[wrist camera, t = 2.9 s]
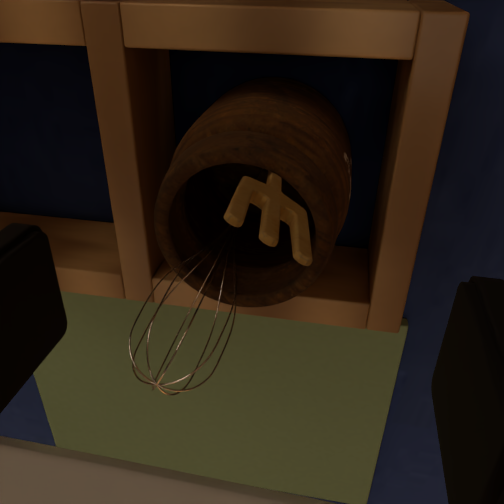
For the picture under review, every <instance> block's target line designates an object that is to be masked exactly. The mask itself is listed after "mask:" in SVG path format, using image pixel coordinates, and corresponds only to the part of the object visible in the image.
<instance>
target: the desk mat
mask: <svg viewBox="0 0 504 504" xmlns="http://www.w3.org/2000/svg"><path fill="white" fill-rule="evenodd" d="M61 296H62V300H63V304H64V309H65V313H66V317H67V330H66V333H65V335H64V336H63V338H62V339H61V340H60V341H59V342H58V344H57V345H56V346H55V347H54V348H53V350H52V351H51V352H50V353H49V355H48V356H47V357H46V358H45V359H44V361H43V362H42V363H41V364H40V366H39V367H38V368H37V369H36V370H35V372H34V376H35V380H36V383H37V386H38V389H39V392H40V396H41V399H42V402H43V405H44V408H45V412H46V415H47V418H48V421H49V424H50V428H51V431H52V434H53V437H54V440H55V444H56V447H59V448H65V449H70V450H75V451H80V452H85V453H90V454H95V455H100V456H105V457H110V458H115V459H120V460H125V461H130V462H135V463H140V464H145V465H150V466H155V467H160V468H165V469H170V470H175V471H180V472H185V473H190V474H195V475H200V476H205V477H210V478H215V479H220V480H224V481H229V482H234V483H239V484H244V485H249V486H254V487H259V488H265V489H271V490H276V491H282V492H287V493H293V494H298V495H304V496H310V497H315V498H321V499H326V500H332V501H337V502H343V503H349V504H367V500H368V496H369V492H370V488H371V483H372V479H373V475H374V471H375V466H376V462H377V458H378V454H379V449H380V445H381V441H382V437H383V432H384V428H385V424H386V420H387V415H388V411H389V407H390V403H391V398H392V394H393V390H394V386H395V381H396V377H397V373H398V369H399V364H400V360H401V356H402V352H403V347H404V343H405V339H406V335H407V330H408V321H407V319H404V318H402V321H401V326H400V330H399V332H398V333H390V332H382V331H374V330H368V329H366V328H365V329H358V328H350V327H342V326H334V325H326V324H318V323H310V322H302V321H294V320H286V319H278V318H270V317H262V316H254V315H246V314H238V313H236V314H235V321H234V325H233V329H232V332H231V335H230V338H229V341H228V343H227V345H226V348H225V350H224V352H223V355H222V357H221V359H220V361H219V364H218V366H217V368H216V369H215V371H214V373H213V374H212V376H211V377H210V378H209V379H208V380H207V381H206V382H205V383H204V384H202V385H201V386H199V387H197V388H195V389H192V390H189V391H183V392H180V393H179V394H176V395H166V394H164V393H163V392H161V391H160V390H159V389H158V387H157V386H156V388H155V389H154V390H153V391H152V390H151V388H152V385H148V384H145V383H143V382H141V381H139V380H138V379H137V378H136V377H135V375H134V372H133V368H132V360H131V357H130V353H129V336H130V332H131V329H132V326H133V324H134V322H135V320H136V318H137V316H138V314H139V312H140V311H141V309H142V307H143V305H144V303H145V302H143V301H135V300H127V299H126V298H125V299H119V298H111V297H104V296H96V295H88V294H80V293H72V292H64V291H61ZM158 306H159V303H155V301H154V302H153V303H151V302H147V303H146V305H145V307H144V309H143V311H142V313H141V314H140V316H139V318H138V320H137V322H136V324H135V327H134V329H133V331H132V335H131V352H132V356H133V355H134V352H135V350H136V347H137V345H138V343H139V341H140V339H141V337H142V335H143V333H144V332H145V330H146V328H147V326H148V324H149V322H150V320H151V319H152V317H153V315H154V314H155V312H156V310H157V308H158ZM190 308H191V307H183V306H175V305H167V304H162V306H161V307H160V309H159V311H158V313H157V315H156V317H155V319H154V322H153V324H152V328H151V332H150V337H149V346H148V358H149V365H150V369H151V372H152V375H153V377H154V379H155V378H156V376H157V374H158V372H159V369H160V367H161V365H162V363H163V361H164V359H165V357H166V355H167V353H168V351H169V349H170V347H171V345H172V343H173V341H174V339H175V337H176V335H177V333H178V331H179V329H180V327H181V325H182V323H183V321H184V319H185V317H186V315H187V313H188V311H189V310H190ZM196 309H197V308H192V309H191V311H190V313H189V315H188V317H187V319H186V321H185V323H184V325H183V327H182V329H181V331H180V333H179V335H178V337H177V339H176V341H175V343H174V345H173V347H172V349H171V351H170V353H169V355H168V357H167V359H166V361H165V363H164V365H163V367H162V369H161V371H160V373H159V376H158V378H157V380H156V383H157V381H158V380H159V378H160V377H161V375H162V373H163V372H164V370H165V368H166V367H167V365H168V363H169V361H170V360H171V358H172V356H173V354H174V352H175V350H176V349H177V347H178V345H179V343H180V341H181V339H182V337H183V335H184V333H185V331H186V329H187V327H188V325H189V323H190V321H191V319H192V317H193V315H194V313H195V311H196ZM229 313H230V312H223V311H218V314H217V318H216V322H215V326H214V329H213V332H212V335H211V338H210V340H209V343H208V345H207V348H206V350H205V352H204V355H203V357H202V359H201V361H200V363H199V366H200V365H201V364H202V363H203V362H204V361H205V360H206V359H207V357H208V356H209V355H210V353H211V352H212V350H213V348H214V346H215V345H216V343H217V340H218V338H219V336H220V334H221V332H222V330H223V327H224V325H225V323H226V321H227V318H228V316H229ZM215 315H216V311H215V310H207V309H198V311H197V313H196V315H195V317H194V320H193V322H192V324H191V326H190V328H189V330H188V332H187V334H186V336H185V338H184V340H183V341H182V343H181V345H180V347H179V349H178V351H177V353H176V355H175V356H174V358H173V360H172V362H171V364H170V365H169V367H168V369H167V371H166V372H165V374H164V376H163V377H162V379H161V380H160V382H159V383H158V384H160V383H169V382H173V381H176V380H179V379H181V378H183V377H185V376H187V375H189V374H190V373H192V372H193V371H194V370H195V368H196V366H197V364H198V362H199V359H200V357H201V355H202V353H203V351H204V348H205V346H206V343H207V341H208V338H209V336H210V333H211V330H212V327H213V323H214V319H215ZM233 317H234V313H231V315H230V318H229V320H228V323H227V325H226V327H225V330H224V332H223V334H222V336H221V338H220V341H219V343H218V345H217V347H216V349H215V350H214V352H213V354H212V355H211V357H210V358H209V359H208V361H207V362H206V363H205V364H204V365H203V366H202V367H201V368H200V369H199V370H197V371H196V372H195V374H194V376H193V378H192V380H191V381H190V383H189V384H188V386H187V387H186V388H185V389H189V388H192V387H195V386H197V385H199V384H200V383H202V382H203V381H204V380H205V379H207V378H208V376H209V375H210V374H211V373H212V371H213V369H214V367H215V366H216V364H217V361H218V359H219V357H220V355H221V353H222V350H223V348H224V346H225V343H226V341H227V338H228V336H229V333H230V330H231V326H232V322H233ZM149 328H150V326H149ZM149 328H148V329H147V331H146V333H145V335H144V337H143V339H142V341H141V343H140V345H139V347H138V350H137V352H136V355H135V359H134V362H135V364H136V365H137V367H138V368H139V370H140V371H141V372H142V373H143V374H144V375H145V376H146V377H147V378H149V379H150V380H152V378H151V375H150V373H149V370H148V365H147V358H146V345H147V337H148V332H149ZM199 366H198V367H199ZM134 368H135V366H134ZM135 372H136V374H137V376H138V377H139V378H140V379H141V380H143V381H145V382H149V381H148V380H147V379H145V378H144V377H143V376H142V375H141V374H140V373H139V372H138V371H137V369H136V368H135ZM191 376H192V375H191ZM191 376H189V377H187V378H186V379H184V380H182V381H179V382H177V383H174V384H170V385H161V386H163V387H166V388H170V389H175V390H181V389H182V388H183V387H184V386H185V385H186V384H187V383H188V381H189V380H190V378H191ZM152 381H153V380H152ZM149 383H151V382H149ZM154 386H155V385H154ZM160 388H161V387H160ZM161 389H162V390H163V391H165V392H167V393H170V394H173V393H176V392H175V391H169V390H166V389H163V388H161Z"/></svg>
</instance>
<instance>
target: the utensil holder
mask: <svg viewBox="0 0 504 504" xmlns="http://www.w3.org/2000/svg"><path fill="white" fill-rule="evenodd" d="M351 175H352V157H351V146H350V140H349V136H348V133H347V130H346V127H345V125H344V122H343V120H342V118H341V117H340V115H339V113H338V112H337V110H336V109H335V107H334V106H333V105H332V104H331V103H330V102H329V100H327V99H326V98H325V97H324V96H323V95H322V94H321V93H319V92H318V91H316V90H315V89H313V88H312V87H310V86H308V85H306V84H304V83H301V82H299V81H296V80H292V79H288V78H281V77H265V78H258V79H254V80H250V81H247V82H245V83H242V84H240V85H238V86H236V87H234V88H232V89H231V90H229V91H228V92H226V93H225V94H224V95H222V96H221V97H220V98H219V99H218V100H216V101H215V102H214V103H213V104H212V105H211V106H210V107H209V108H208V109H207V110H206V111H205V112H204V113H203V114H202V115H201V116H200V117H199V118H198V119H197V120H196V122H195V123H194V124H193V125H192V126H191V127H190V129H189V130H188V131H187V132H186V134H185V135H184V137H183V138H182V140H181V141H180V143H179V145H178V147H177V148H176V151H175V153H174V155H173V158H172V161H171V164H170V168H169V170H168V171H167V173H166V175H165V177H164V179H163V181H162V184H161V186H160V189H159V192H158V195H157V198H156V202H155V208H154V228H155V234H156V238H157V242H158V244H159V247H160V249H161V252H162V254H163V256H164V257H165V259H166V261H167V262H168V264H169V265H170V267H171V268H172V270H171V271H169V272H168V273H167V274H166V275H165V276H164V277H163V278H162V279H161V280H160V281H159V282H158V283H157V285H156V286H155V287H154V289H153V290H152V292H151V293H150V295H149V296H148V298H147V300H146V301H145V303H144V305H143V307H142V309H141V311H140V312H139V314H138V316H137V318H136V320H135V322H134V324H133V326H132V329H131V332H130V336H129V353H130V357H131V360H132V368H133V372H134V375H135V377H136V378H137V379H138V380H139V381H141V382H143V383H145V384H148V385H152V388H151V390H152V391H153V390H154V389H155V388H156V386H157V387H158V389H159V390H160V391H161V392H163V393H164V394H166V395H176V394H179V393H180V392H183V391H189V390H192V389H195V388H197V387H199V386H201V385H202V384H204V383H205V382H206V381H207V380H208V379H209V378H210V377H211V376H212V374H213V373H214V371H215V369H216V368H217V366H218V364H219V361H220V359H221V357H222V355H223V352H224V350H225V348H226V345H227V343H228V341H229V338H230V335H231V332H232V329H233V325H234V321H235V314H236V306H239V307H266V306H271V305H276V304H279V303H282V302H285V301H288V300H290V299H292V298H294V297H296V296H298V295H299V294H301V293H302V292H304V291H305V290H306V289H307V288H309V287H310V286H311V285H312V284H313V283H314V282H315V281H316V279H317V278H318V277H319V276H320V274H321V273H322V271H323V270H324V268H325V266H326V264H327V262H328V260H329V258H330V255H331V253H332V251H333V248H334V245H335V242H336V238H337V237H338V235H339V233H340V231H341V229H342V227H343V224H344V222H345V219H346V216H347V212H348V207H349V202H350V194H351ZM173 270H174V272H175V273H176V276H175V277H174V279H173V281H172V282H171V284H170V286H169V287H168V289H167V291H166V293H165V295H164V297H163V299H162V301H161V302H160V304H159V306H158V308H157V310H156V312H155V314H154V315H153V317H152V319H151V320H150V322H149V324H148V326H147V328H146V330H145V332H144V333H143V335H142V337H141V339H140V341H139V343H138V345H137V347H136V350H135V352H134V355H133V356H132V352H131V335H132V331H133V329H134V327H135V324H136V322H137V320H138V318H139V316H140V314H141V313H142V311H143V309H144V307H145V305H146V303H147V301H148V300H149V298H150V296H151V295H152V293H153V292H154V290H155V289H156V288H157V286H158V285H159V284H160V283H161V281H162V280H163V279H164V278H165V277H166V276H167V275H168V274H170V273H171V272H172V271H173ZM177 276H179V277H180V278H181V279H182V280H181V281H180V282H179V283H178V284H177V285H176V286H175V287H174V288H173V290H172V291H171V292H170V293H169V294H168V295H167V293H168V291H169V289H170V288H171V286H172V284H173V282H174V281H175V279H176V278H177ZM182 281H184V282H185V283H187V284H188V285H189V286H190V287H192V288H193V289H195V290H196V291H198V294H197V296H196V298H195V300H194V302H193V304H192V306H191V308H190V310H189V311H188V313H187V315H186V317H185V319H184V321H183V323H182V325H181V327H180V329H179V331H178V333H177V335H176V337H175V339H174V341H173V343H172V345H171V347H170V349H169V351H168V353H167V355H166V357H165V359H164V361H163V363H162V365H161V367H160V369H159V372H158V374H157V376H156V378H155V379H154V377H153V375H152V372H151V369H150V365H149V358H148V346H149V337H150V332H151V328H152V324H153V322H154V319H155V317H156V315H157V313H158V311H159V309H160V307H161V306H162V304H163V303H164V302H165V300H166V299H167V298H168V297H169V295H170V294H171V293H172V292H173V291H174V290H175V289H176V287H177V286H178V285H179V284H180V283H181V282H182ZM200 293H201V294H203V297H202V299H201V301H200V303H199V305H198V307H197V309H196V311H195V313H194V315H193V317H192V319H191V321H190V323H189V325H188V327H187V329H186V331H185V333H184V335H183V337H182V339H181V341H180V343H179V345H178V347H177V349H176V350H175V352H174V354H173V356H172V358H171V360H170V361H169V363H168V365H167V367H166V368H165V370H164V372H163V373H162V375H161V377H160V378H159V380H158V381H157V383H156V380H157V378H158V376H159V373H160V371H161V369H162V367H163V365H164V363H165V361H166V359H167V357H168V355H169V353H170V351H171V349H172V347H173V345H174V343H175V341H176V339H177V337H178V335H179V333H180V331H181V329H182V327H183V325H184V323H185V321H186V319H187V317H188V315H189V313H190V311H191V309H192V307H193V305H194V303H195V301H196V299H197V298H198V296H199V294H200ZM166 295H167V297H166ZM205 296H207V297H209V298H211V299H213V300H216V301H218V306H217V311H216V315H215V319H214V323H213V327H212V330H211V333H210V336H209V338H208V341H207V343H206V346H205V348H204V351H203V353H202V355H201V357H200V359H199V362H198V364H197V366H196V368H195V370H194V371H193V372H192V373H190V374H189V375H187V376H185V377H183V378H181V379H179V380H176V381H173V382H169V383H160V384H158V383H159V382H160V380H161V379H162V377H163V376H164V374H165V372H166V371H167V369H168V367H169V365H170V364H171V362H172V360H173V358H174V356H175V355H176V353H177V351H178V349H179V347H180V345H181V343H182V341H183V340H184V338H185V336H186V334H187V332H188V330H189V328H190V326H191V324H192V322H193V320H194V317H195V315H196V313H197V311H198V309H199V307H200V305H201V303H202V301H203V299H204V297H205ZM165 297H166V298H165ZM220 302H221V303H225V304H228V305H232V307H231V311H230V313H229V316H228V318H227V321H226V323H225V325H224V327H223V330H222V332H221V334H220V336H219V338H218V340H217V343H216V345H215V346H214V348H213V350H212V352H211V353H210V355H209V356H208V357H207V359H206V360H205V361H204V362H203V363H202V364H201V365H200V366H199V363H200V361H201V359H202V357H203V355H204V352H205V350H206V348H207V345H208V343H209V340H210V338H211V335H212V332H213V329H214V326H215V322H216V318H217V314H218V309H219V304H220ZM234 306H235V307H234ZM233 307H234V317H233V322H232V326H231V330H230V333H229V336H228V338H227V341H226V343H225V346H224V348H223V350H222V353H221V355H220V357H219V359H218V361H217V364H216V366H215V367H214V369H213V371H212V373H211V374H210V375H209V376H208V378H207V379H205V380H204V381H203V382H202V383H200V384H199V385H197V386H195V387H192V388H189V389H185V388H186V387H187V386H188V384H189V383H190V381H191V380H192V378H193V376H194V374H195V372H196V371H197V370H199V369H200V368H201V367H202V366H203V365H204V364H205V363H206V362H207V361H208V359H209V358H210V357H211V355H212V354H213V352H214V350H215V349H216V347H217V345H218V343H219V341H220V338H221V336H222V334H223V332H224V330H225V327H226V325H227V323H228V320H229V318H230V315H231V313H232V310H233ZM149 326H150V328H149ZM148 328H149V332H148V337H147V345H146V358H147V365H148V370H149V373H150V375H151V378H152V380H153V381H152V380H150V379H149V378H147V377H146V376H145V375H144V374H143V373H142V372H141V371H140V370H139V368H138V367H137V365H136V364H135V362H134V359H135V355H136V352H137V350H138V347H139V345H140V343H141V341H142V339H143V337H144V335H145V333H146V331H147V329H148ZM134 366H135V368H136V369H137V371H138V372H139V373H140V374H141V375H142V376H143V377H144V378H145V379H147V380H148V381H149V382H151V383H149V382H145V381H143V380H141V379H140V378H139V377H138V376H137V374H136V372H135V368H134ZM198 366H199V367H198ZM191 375H192V376H191ZM189 376H191V378H190V380H189V381H188V383H187V384H186V385H185V386H184V387H183V388H182V389H181V390H175V389H170V388H166V387H163V386H161V385H170V384H174V383H177V382H179V381H182V380H184V379H186V378H187V377H189ZM154 385H155V386H154ZM160 387H161V388H163V389H166V390H169V391H175V392H176V393H173V394H170V393H167V392H165V391H163V390H162V389H161V388H160Z"/></svg>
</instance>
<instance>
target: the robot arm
mask: <svg viewBox="0 0 504 504" xmlns="http://www.w3.org/2000/svg"><path fill="white" fill-rule="evenodd" d="M66 330H67V317H66V313H65V309H64V304H63V300H62V296H61V291H60V287H59V283H58V278H57V274H56V270H55V265H54V261H53V257H52V252H51V248H50V244H49V239H48V236H47V235H46V233H44V232H42V230H41V229H40V227H38V226H37V225H29V224H21V223H11V224H9V225H8V226H6V227H5V228H3V229H2V230H1V231H0V413H1V412H2V411H3V409H4V408H5V407H6V406H7V404H8V403H9V402H10V401H11V400H12V398H13V397H14V396H15V395H16V394H17V392H18V391H19V390H20V389H21V387H22V386H23V385H24V384H25V383H26V381H27V380H28V379H29V378H30V376H31V375H32V374H33V373H34V372H35V370H36V369H37V368H38V367H39V366H40V364H41V363H42V362H43V361H44V359H45V358H46V357H47V356H48V355H49V353H50V352H51V351H52V350H53V348H54V347H55V346H56V345H57V344H58V342H59V341H60V340H61V339H62V338H63V336H64V335H65V333H66ZM432 399H433V405H434V412H435V418H436V425H437V431H438V438H439V444H440V451H441V457H442V464H443V470H444V477H445V483H446V490H447V496H448V503H449V504H504V281H503V280H501V279H494V278H486V277H477V276H472V277H471V278H470V280H469V282H460V284H459V286H458V289H457V293H456V296H455V300H454V303H453V307H452V310H451V314H450V317H449V321H448V324H447V328H446V331H445V335H444V338H443V342H442V346H441V349H440V353H439V356H438V360H437V363H436V367H435V370H434V374H433V378H432ZM0 504H336V503H331V502H327V501H322V500H317V499H313V498H308V497H303V496H298V495H293V494H288V493H283V492H278V491H273V490H268V489H264V488H259V487H254V486H249V485H244V484H239V483H234V482H229V481H224V480H220V479H215V478H210V477H205V476H200V475H195V474H190V473H185V472H180V471H175V470H170V469H165V468H160V467H155V466H150V465H145V464H140V463H135V462H130V461H125V460H120V459H115V458H110V457H105V456H100V455H95V454H90V453H85V452H80V451H75V450H70V449H65V448H59V447H54V446H49V445H44V444H39V443H34V442H29V441H24V440H19V439H13V438H8V437H3V436H0Z"/></svg>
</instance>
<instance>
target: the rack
mask: <svg viewBox="0 0 504 504" xmlns="http://www.w3.org/2000/svg"><path fill="white" fill-rule="evenodd" d="M469 17H470V14H469V13H468V12H466V11H464V10H462V9H460V8H458V7H456V6H454V5H452V4H450V3H448V2H446V1H440V0H409V1H407V0H0V42H6V43H29V44H51V45H74V46H87V52H88V59H89V65H90V71H91V78H92V84H93V91H94V97H95V103H96V110H97V116H98V123H99V129H100V136H101V142H102V148H103V155H104V161H105V168H106V174H107V180H108V187H109V193H110V200H111V206H112V213H113V219H114V223H109V222H99V221H89V220H79V219H69V218H59V217H50V216H40V215H30V214H20V213H10V212H0V231H1V230H2V229H3V228H5V227H6V226H8V225H9V224H11V223H21V224H29V225H37V226H38V227H40V229H41V230H42V232H44V233H46V235H47V236H48V239H49V244H50V248H51V252H52V257H53V261H54V265H55V270H56V274H57V278H58V283H59V287H60V291H64V292H72V293H80V294H88V295H96V296H104V297H111V298H119V299H125V298H126V299H127V300H135V301H143V302H145V301H146V300H147V298H148V296H149V295H150V293H151V292H152V290H153V289H154V287H155V286H156V285H157V283H158V282H159V281H160V280H161V279H162V278H163V277H164V276H165V275H166V274H167V273H168V272H169V271H171V270H172V268H171V267H170V265H169V264H168V262H167V261H166V259H165V257H164V256H163V254H162V252H161V249H160V247H159V244H158V242H157V238H156V234H155V228H154V208H155V202H156V198H157V195H158V192H159V189H160V186H161V184H162V181H163V179H164V177H165V175H166V173H167V171H168V170H169V168H170V164H171V161H172V158H173V155H174V153H175V151H176V140H175V126H174V113H173V99H172V85H171V72H170V58H169V50H192V51H215V52H238V53H260V54H283V55H306V56H329V57H352V58H374V59H397V60H398V64H397V71H396V77H395V83H394V89H393V95H392V102H391V108H390V114H389V120H388V127H387V133H386V139H385V145H384V152H383V158H382V164H381V170H380V176H379V183H378V189H377V195H376V201H375V208H374V214H373V220H372V226H371V232H370V239H369V245H368V250H367V249H365V248H355V247H346V246H336V245H334V248H333V251H332V253H331V255H330V258H329V260H328V262H327V264H326V266H325V268H324V270H323V271H322V273H321V274H320V276H319V277H318V278H317V279H316V281H315V282H314V283H313V284H312V285H311V286H310V287H309V288H307V289H306V290H305V291H304V292H302V293H301V294H299V295H298V296H296V297H294V298H292V299H290V300H288V301H285V302H282V303H279V304H276V305H271V306H266V307H239V306H236V313H238V314H246V315H254V316H262V317H270V318H278V319H286V320H294V321H302V322H310V323H318V324H326V325H334V326H342V327H350V328H358V329H365V328H366V329H368V330H374V331H382V332H390V333H398V332H399V330H400V326H401V321H402V317H403V312H404V308H405V303H406V299H407V294H408V290H409V285H410V281H411V276H412V272H413V267H414V263H415V259H416V254H417V250H418V245H419V241H420V236H421V232H422V227H423V223H424V218H425V214H426V209H427V205H428V200H429V196H430V191H431V187H432V183H433V178H434V174H435V169H436V165H437V160H438V156H439V151H440V147H441V142H442V138H443V133H444V129H445V124H446V120H447V115H448V111H449V107H450V102H451V98H452V93H453V89H454V84H455V80H456V75H457V71H458V66H459V62H460V57H461V53H462V48H463V44H464V39H465V35H466V31H467V26H468V22H469ZM175 276H176V273H175V272H174V270H173V271H172V272H171V273H170V274H168V275H167V276H166V277H165V278H164V279H163V280H162V281H161V283H160V284H159V285H158V286H157V288H156V289H155V290H154V292H153V293H152V295H151V296H150V298H149V300H148V301H147V302H151V303H153V302H154V301H155V303H159V304H160V302H161V301H162V299H163V297H164V295H165V293H166V291H167V289H168V287H169V286H170V284H171V282H172V281H173V279H174V277H175ZM181 280H182V279H181V278H180V277H179V276H177V278H176V279H175V281H174V282H173V284H172V286H171V288H170V289H169V291H168V293H167V295H168V294H169V293H170V292H171V291H172V290H173V288H174V287H175V286H176V285H177V284H178V283H179V282H180V281H181ZM197 294H198V291H196V290H195V289H193V288H192V287H190V286H189V285H188V284H187V283H185V282H184V281H182V282H181V283H180V284H179V285H178V286H177V287H176V289H175V290H174V291H173V292H172V293H171V294H170V295H169V297H168V298H167V299H166V300H165V302H164V303H163V304H167V305H175V306H183V307H191V306H192V304H193V302H194V300H195V298H196V296H197ZM167 295H166V297H167ZM166 297H165V298H166ZM202 297H203V294H201V293H200V294H199V296H198V298H197V299H196V301H195V303H194V305H193V307H192V308H197V307H198V305H199V303H200V301H201V299H202ZM217 306H218V301H216V300H213V299H211V298H209V297H207V296H205V297H204V299H203V301H202V303H201V305H200V307H199V309H207V310H215V311H217ZM231 307H232V305H228V304H225V303H221V302H220V304H219V309H218V311H223V312H230V311H231ZM234 307H235V306H234ZM234 307H233V310H232V313H234Z"/></svg>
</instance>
